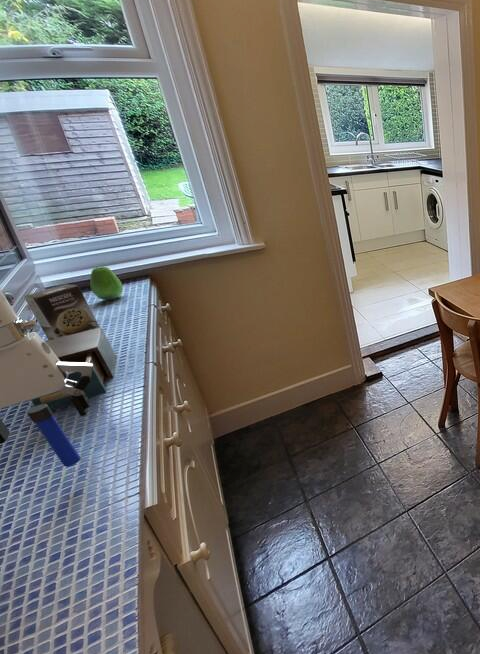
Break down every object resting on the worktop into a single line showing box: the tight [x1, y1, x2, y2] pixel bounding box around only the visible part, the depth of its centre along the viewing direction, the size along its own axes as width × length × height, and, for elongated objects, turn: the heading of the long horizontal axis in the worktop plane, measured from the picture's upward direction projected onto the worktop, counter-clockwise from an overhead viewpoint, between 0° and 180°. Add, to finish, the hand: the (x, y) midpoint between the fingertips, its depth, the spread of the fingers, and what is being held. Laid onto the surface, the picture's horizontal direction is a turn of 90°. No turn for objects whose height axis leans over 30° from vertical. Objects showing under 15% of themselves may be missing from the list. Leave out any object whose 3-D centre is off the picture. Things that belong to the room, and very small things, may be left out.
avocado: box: [89, 266, 123, 301], centre depth 143 cm, size 8×8×12 cm
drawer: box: [30, 351, 108, 411], centre depth 90 cm, size 17×10×7 cm, turn 40°
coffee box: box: [23, 283, 101, 341], centre depth 112 cm, size 9×6×16 cm
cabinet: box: [44, 326, 117, 381], centre depth 98 cm, size 14×12×9 cm
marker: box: [26, 404, 82, 468], centre depth 71 cm, size 2×2×12 cm
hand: (46, 424), depth 70 cm, fingers open, 9 cm apart
